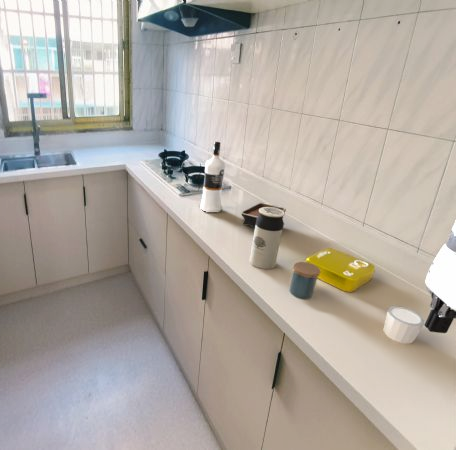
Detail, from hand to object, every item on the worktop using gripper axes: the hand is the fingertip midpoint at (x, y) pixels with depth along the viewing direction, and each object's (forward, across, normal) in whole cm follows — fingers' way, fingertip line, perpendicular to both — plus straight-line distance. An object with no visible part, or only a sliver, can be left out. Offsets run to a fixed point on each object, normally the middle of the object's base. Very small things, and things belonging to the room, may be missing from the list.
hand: (435, 329), depth 66 cm
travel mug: (+11, +40, +25) cm, 48 cm away
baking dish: (+10, +70, +20) cm, 73 cm away
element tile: (+10, +37, +3) cm, 38 cm away
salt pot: (+10, +25, +17) cm, 32 cm away
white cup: (+11, +9, 0) cm, 14 cm away
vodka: (+11, +85, +40) cm, 94 cm away
